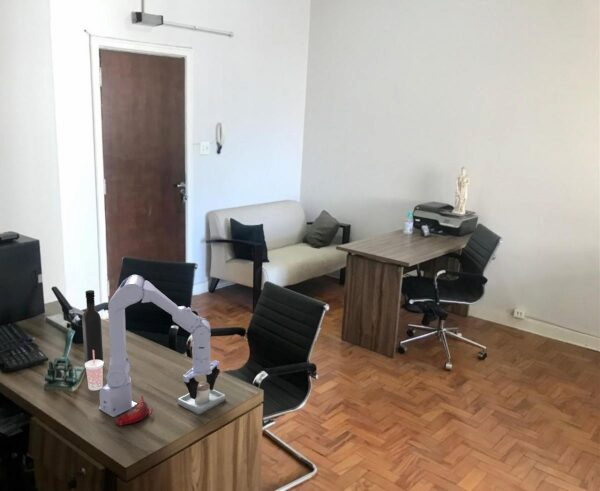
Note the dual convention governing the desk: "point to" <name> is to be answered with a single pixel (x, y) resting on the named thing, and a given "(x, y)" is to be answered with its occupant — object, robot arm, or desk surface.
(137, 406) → the decorative bird figurine
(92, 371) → the beverage cup
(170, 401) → the desk surface
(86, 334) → the wine bottle
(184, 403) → the tray
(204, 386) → the espresso cup
